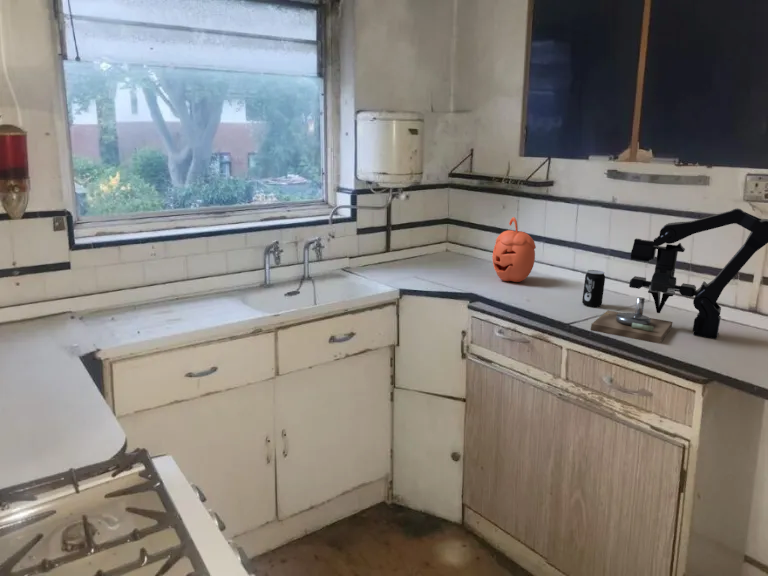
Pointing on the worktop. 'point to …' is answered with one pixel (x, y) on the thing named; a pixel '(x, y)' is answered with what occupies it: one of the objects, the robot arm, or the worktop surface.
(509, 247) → the jack-o'-lantern
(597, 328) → the base plate
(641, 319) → the silver curved piece
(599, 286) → the beverage can
